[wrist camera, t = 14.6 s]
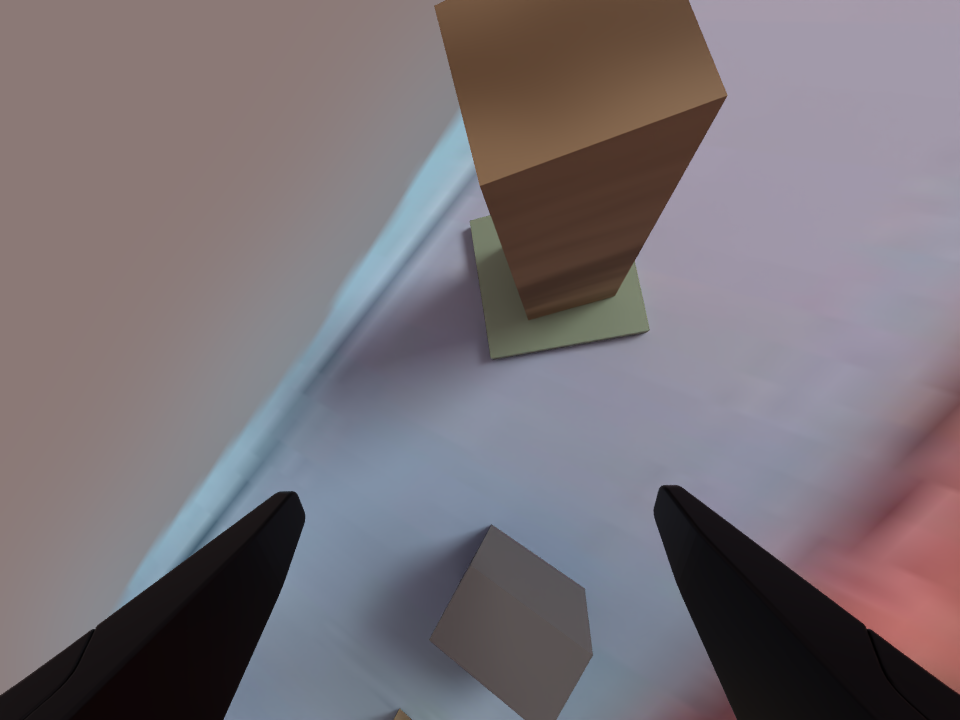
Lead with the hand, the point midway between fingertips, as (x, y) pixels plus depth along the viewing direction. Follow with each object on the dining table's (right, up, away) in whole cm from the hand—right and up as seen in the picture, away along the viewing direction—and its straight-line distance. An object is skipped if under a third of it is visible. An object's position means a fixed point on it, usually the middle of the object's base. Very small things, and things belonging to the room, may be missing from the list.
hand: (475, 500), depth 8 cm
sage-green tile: (+5, +9, +13) cm, 16 cm away
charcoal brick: (+2, -9, +11) cm, 15 cm away
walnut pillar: (+5, +9, +12) cm, 15 cm away
